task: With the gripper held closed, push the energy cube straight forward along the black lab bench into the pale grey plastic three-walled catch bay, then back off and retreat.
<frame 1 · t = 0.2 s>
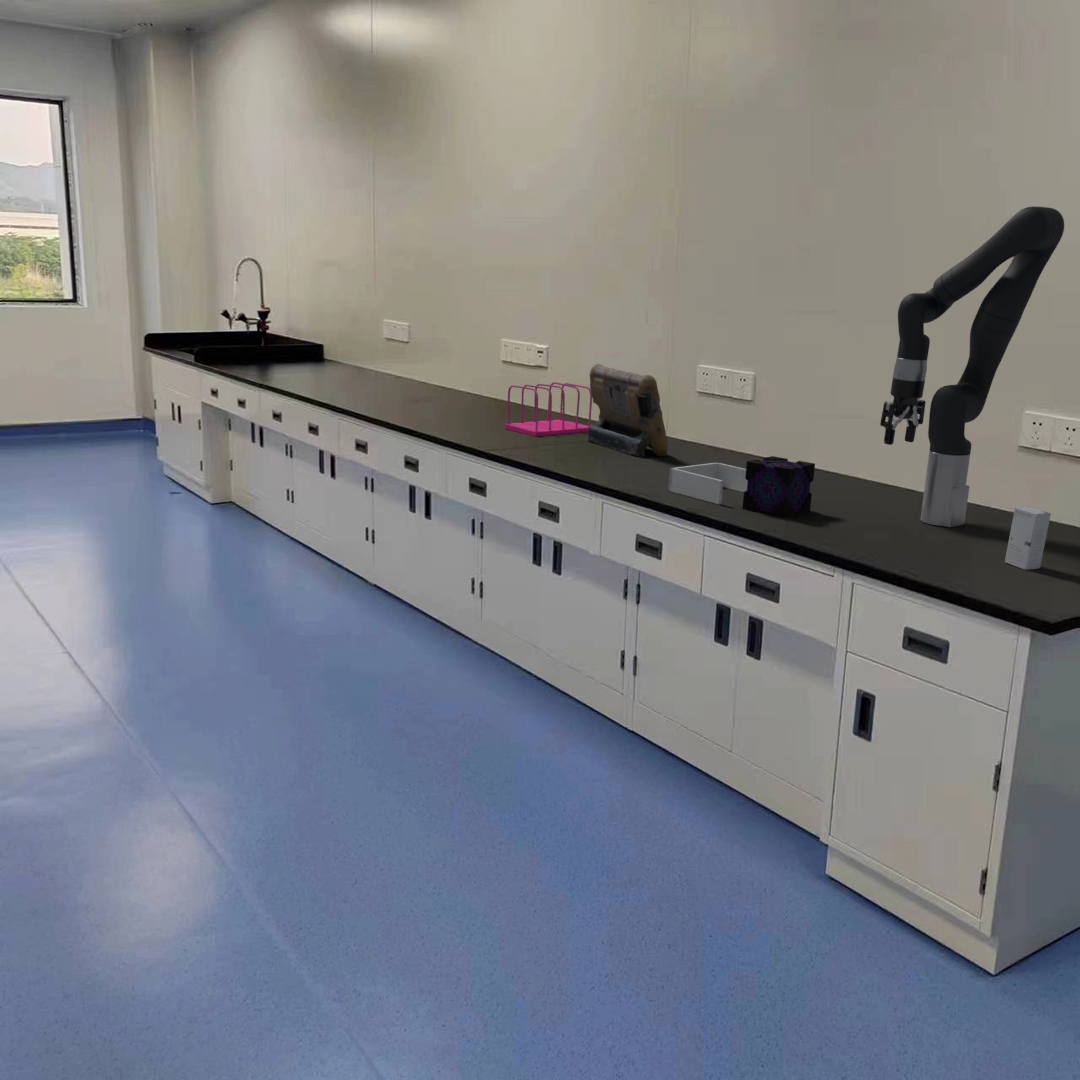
hand: (898, 442, 275), 17 cm above the worktop, tool pointing down, fingers open, 8 cm apart
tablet: (625, 449, 353), on the worktop
file sorter: (548, 431, 381), on the worktop
catch bay: (717, 493, 292), on the worktop
skincare box: (1022, 566, 234), on the worktop
energy cube: (776, 510, 276), on the worktop
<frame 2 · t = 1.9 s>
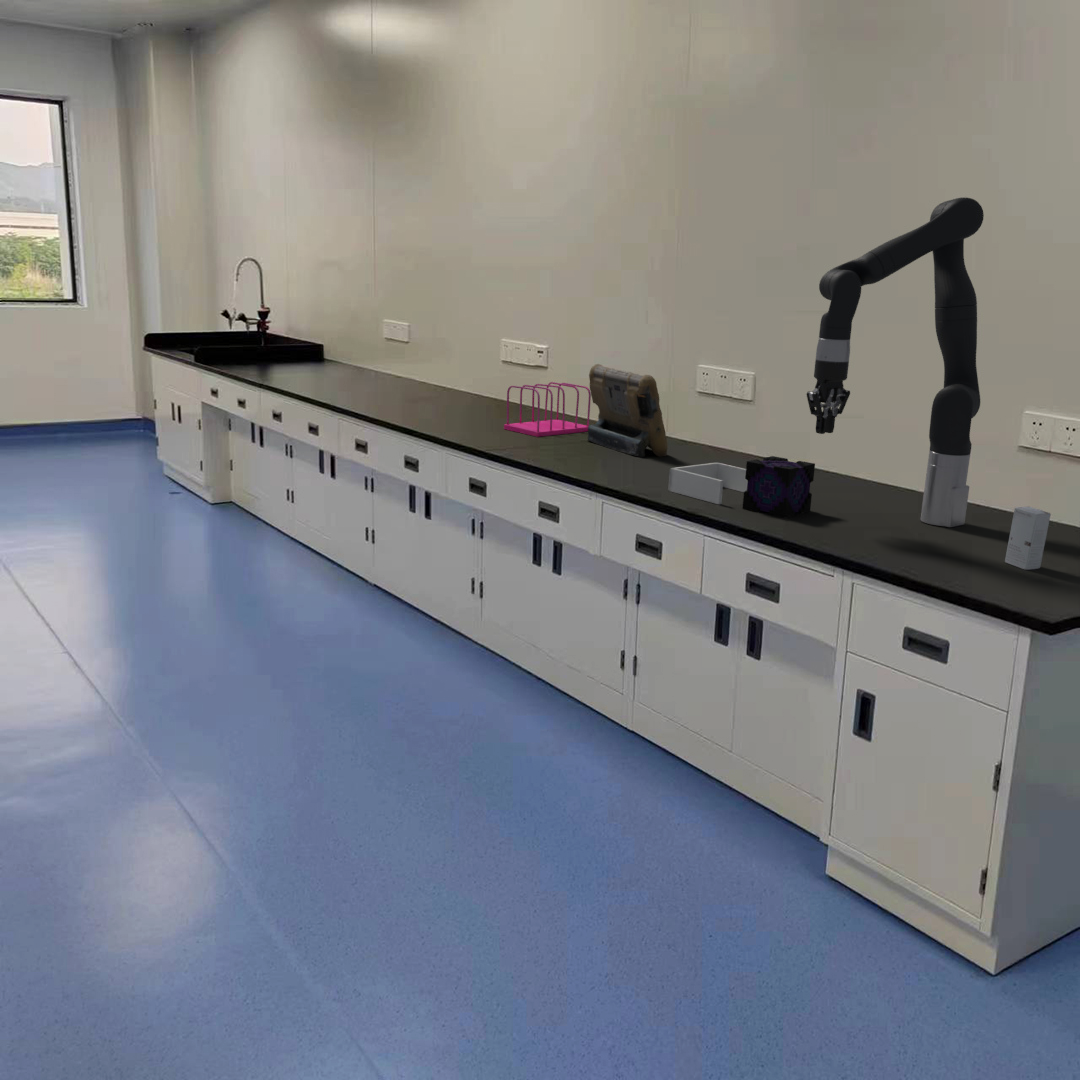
hand: (824, 432, 262), 21 cm above the worktop, tool pointing down, fingers closed
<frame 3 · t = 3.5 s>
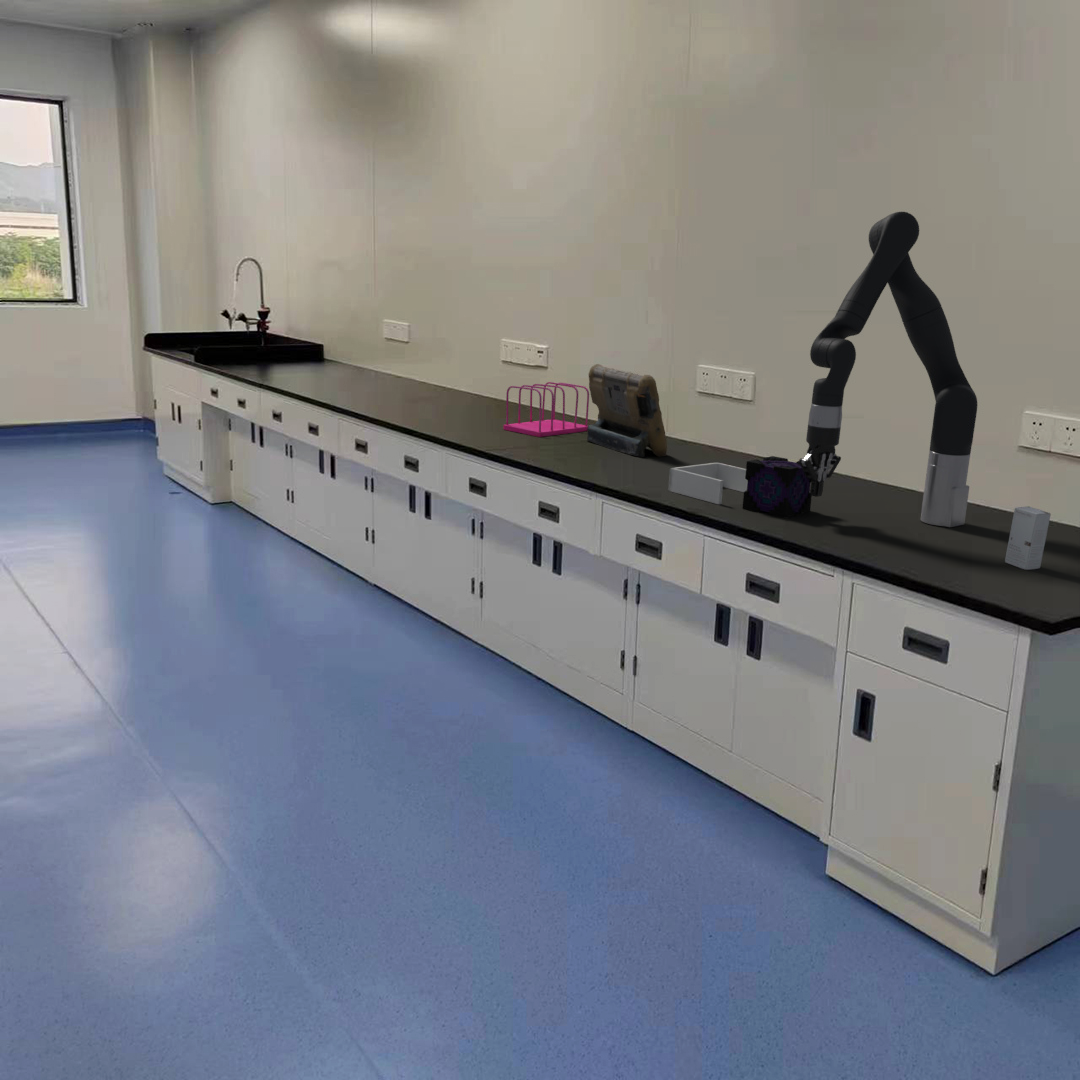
hand: (816, 495, 266), 6 cm above the worktop, tool pointing down, fingers closed
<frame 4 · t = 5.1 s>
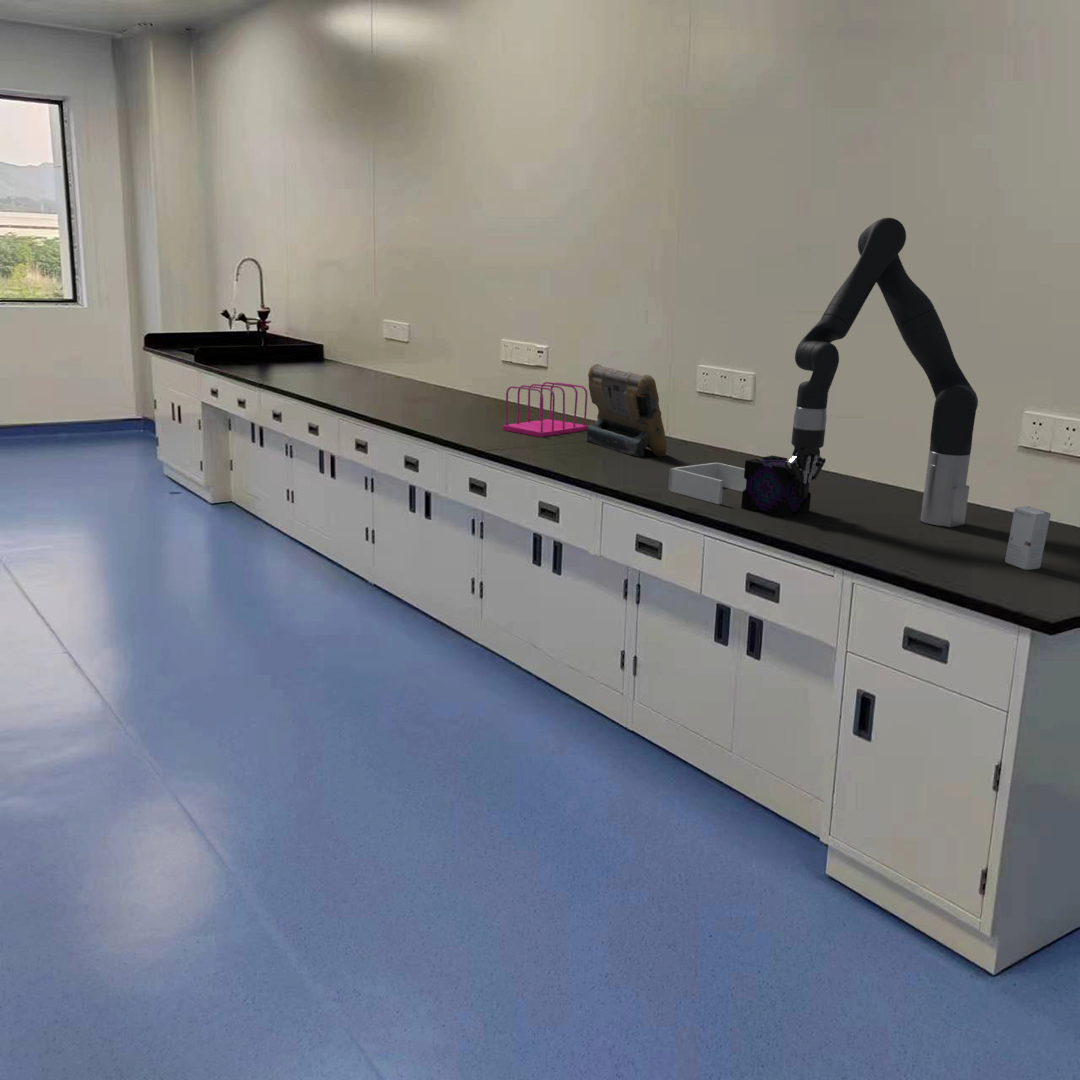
hand: (801, 497, 269), 5 cm above the worktop, tool pointing down, fingers closed
energy cube: (775, 510, 277), on the worktop, touching hand
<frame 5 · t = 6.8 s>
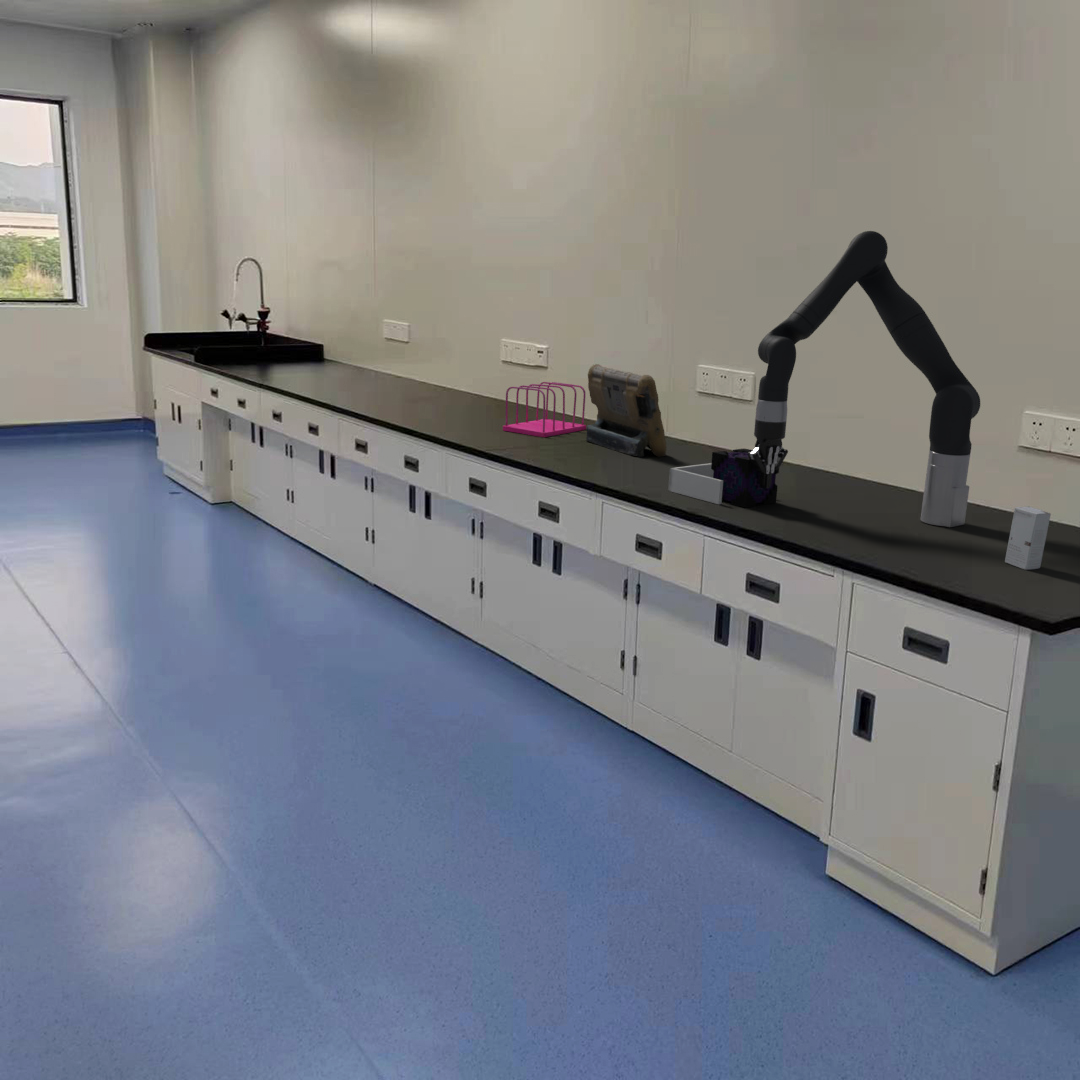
hand: (764, 487, 278), 5 cm above the worktop, tool pointing down, fingers closed
energy cube: (742, 501, 285), on the worktop, touching hand
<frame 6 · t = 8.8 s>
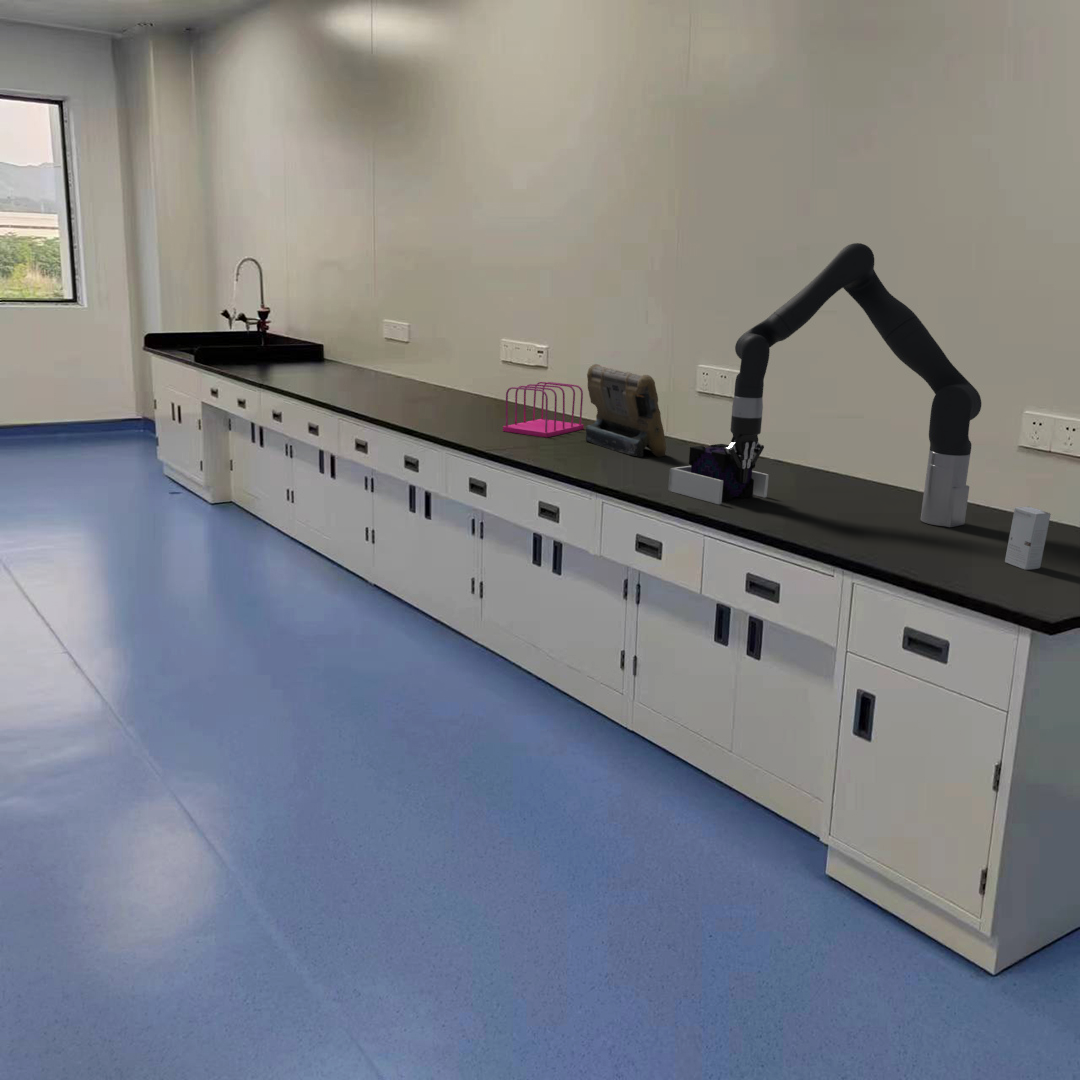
hand: (741, 482, 284), 5 cm above the worktop, tool pointing down, fingers closed
energy cube: (719, 495, 291), on the worktop, touching hand
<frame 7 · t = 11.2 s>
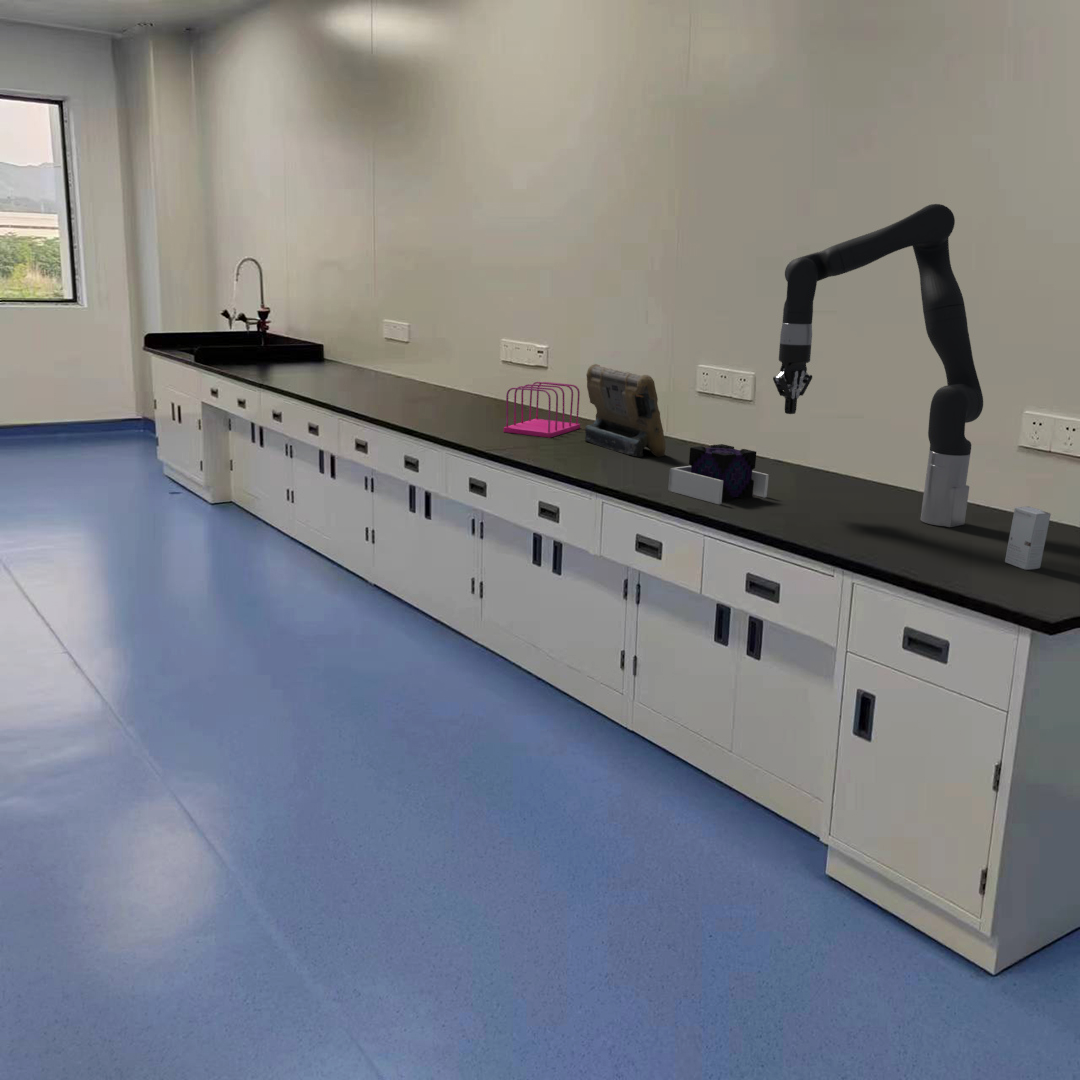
hand: (790, 413, 275), 23 cm above the worktop, tool pointing down, fingers closed
energy cube: (719, 495, 291), on the worktop
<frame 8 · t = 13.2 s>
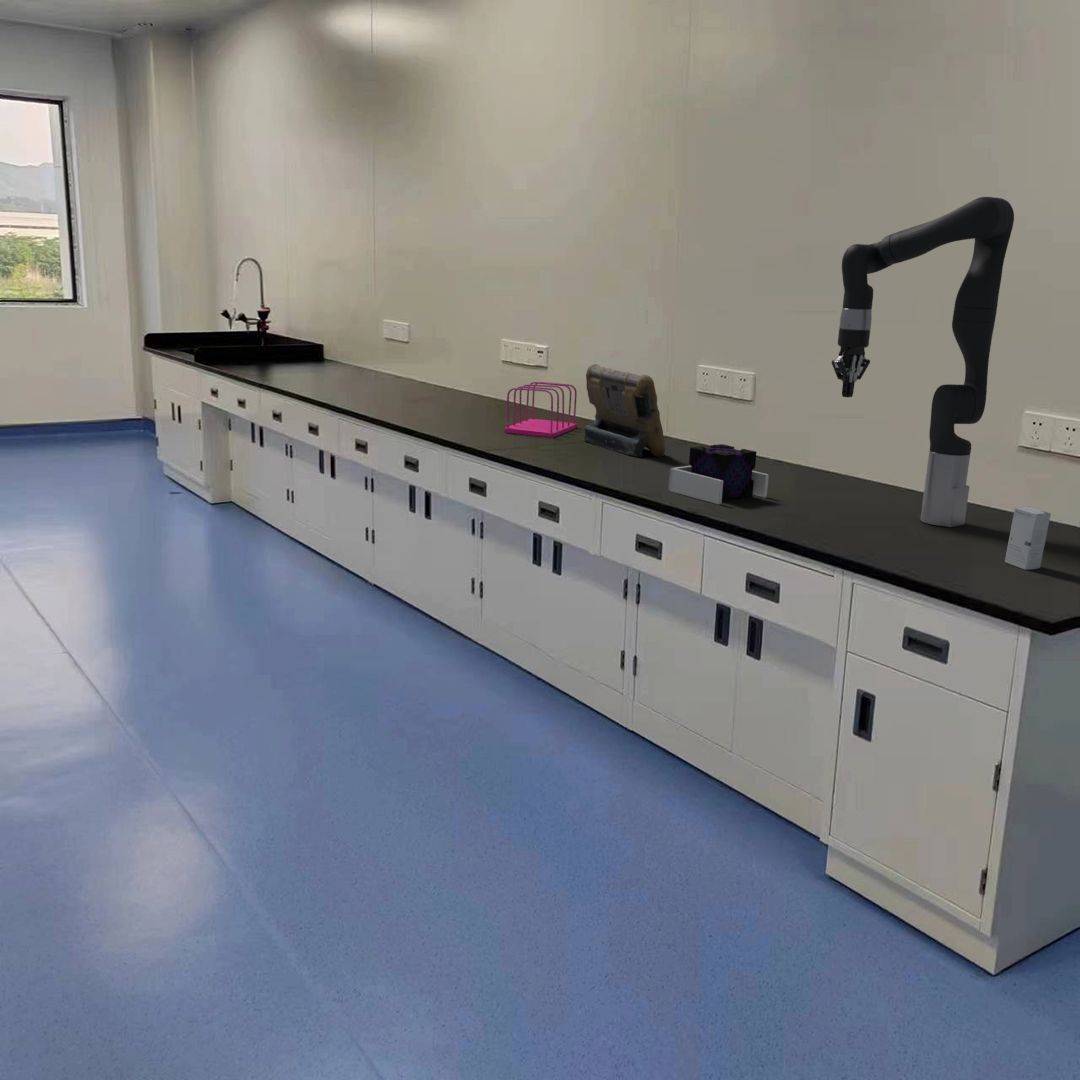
hand: (847, 396, 282), 27 cm above the worktop, tool pointing down, fingers closed
at the end: energy cube inside the target area on the catch bay (0.4 cm from its centre), point 0.0 cm above the catch bay's base; energy cube tilted 0°; energy cube moved 19.1 cm from its start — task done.
